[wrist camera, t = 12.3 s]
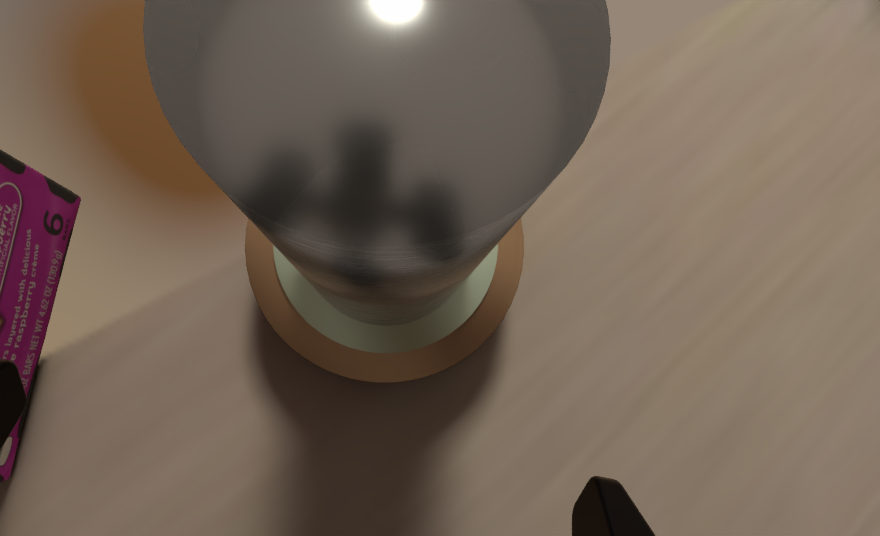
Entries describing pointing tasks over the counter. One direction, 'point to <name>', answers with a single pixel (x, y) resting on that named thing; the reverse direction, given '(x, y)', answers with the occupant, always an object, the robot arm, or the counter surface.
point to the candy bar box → (29, 270)
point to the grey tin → (380, 127)
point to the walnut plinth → (376, 346)
